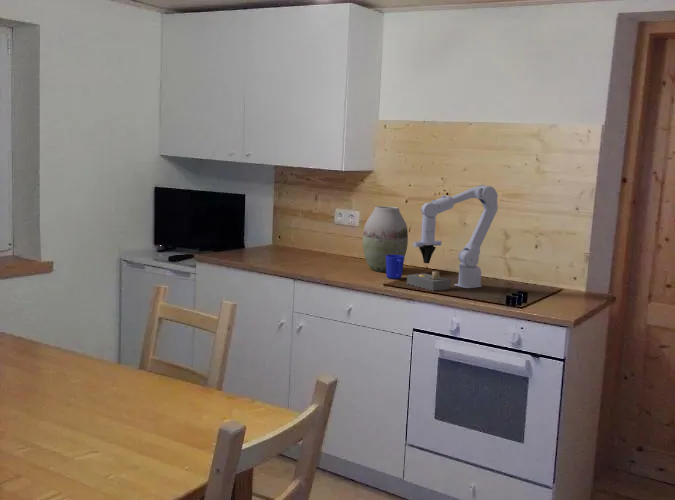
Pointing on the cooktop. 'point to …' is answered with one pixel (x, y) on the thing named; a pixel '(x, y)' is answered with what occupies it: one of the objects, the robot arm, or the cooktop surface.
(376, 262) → the vase
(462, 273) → the robot arm
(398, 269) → the mug
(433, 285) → the block
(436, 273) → the birch peg
